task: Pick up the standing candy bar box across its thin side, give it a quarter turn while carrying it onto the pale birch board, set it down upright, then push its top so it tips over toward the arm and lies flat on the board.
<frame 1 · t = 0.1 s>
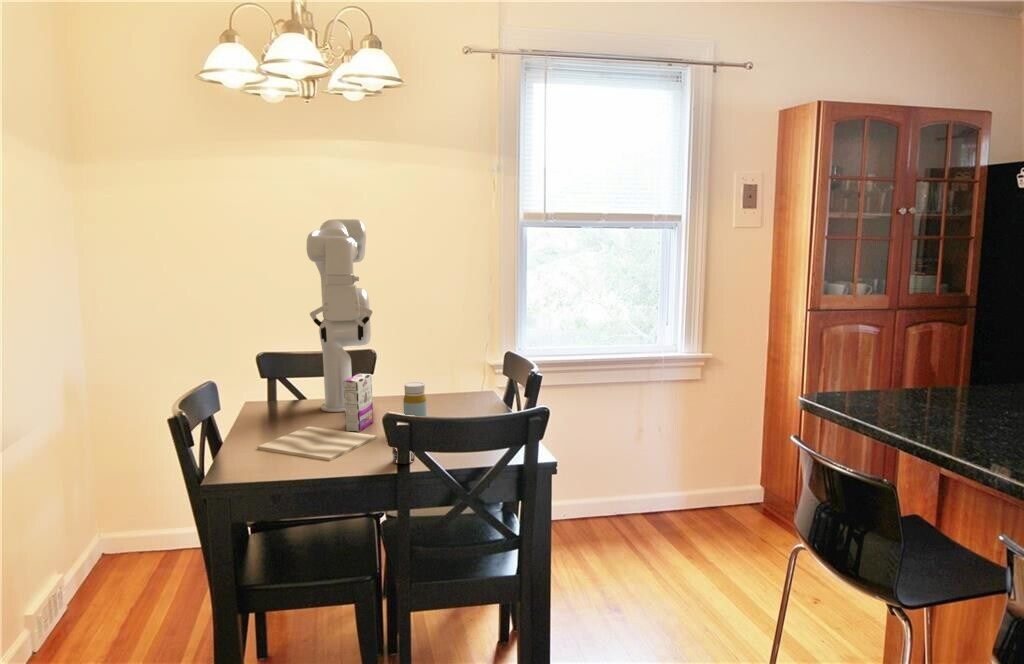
hand: (342, 340, 193), 31 cm above the table, tool pointing down, fingers open, 9 cm apart
supplement bottle: (403, 462, 184), on the table
birch board: (318, 443, 200), on the table
candy bar box: (359, 427, 217), on the table
bottle: (415, 431, 212), on the table
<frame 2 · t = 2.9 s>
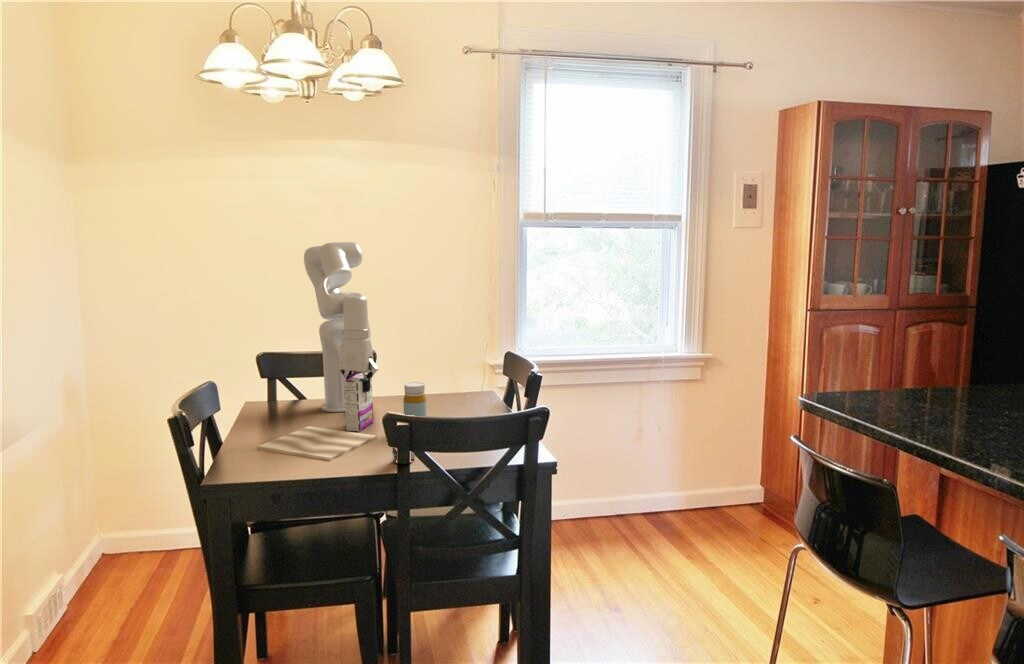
hand: (358, 390, 215), 12 cm above the table, tool pointing down, fingers closed on candy bar box, 5 cm apart
candy bar box: (359, 427, 217), on the table, touching gripper
everything else where it was.
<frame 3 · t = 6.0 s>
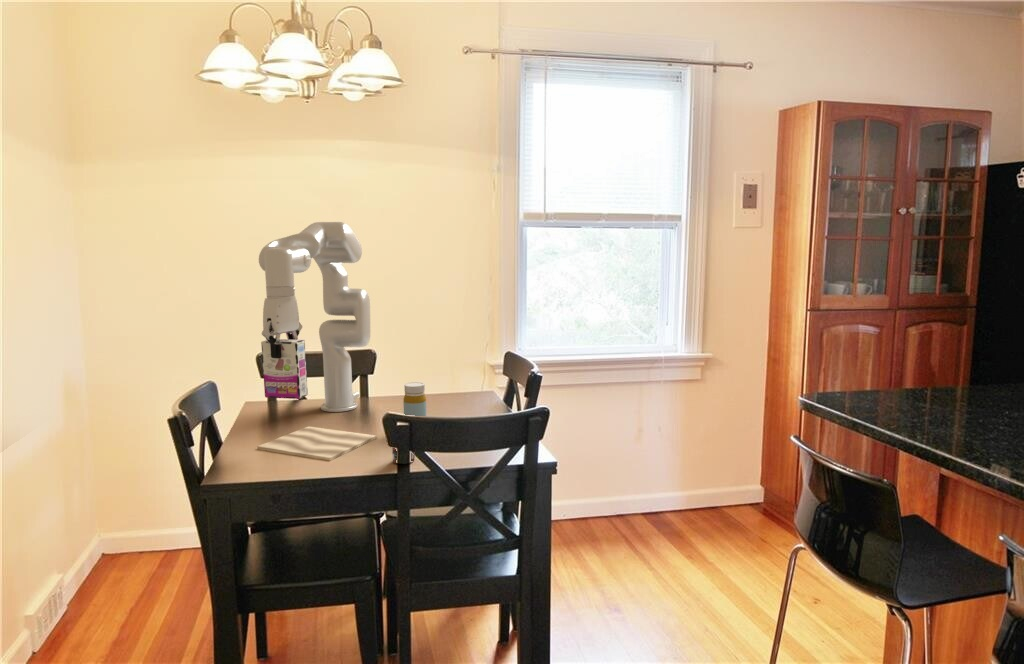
hand: (284, 355, 191), 27 cm above the table, tool pointing down, fingers closed on candy bar box, 5 cm apart
candy bar box: (286, 397, 193), point 15 cm above the table, touching gripper
everything else where it was.
when the fingers open (13 cm above the table, at t = 9.0 s): candy bar box stays where it is, resting on birch board.
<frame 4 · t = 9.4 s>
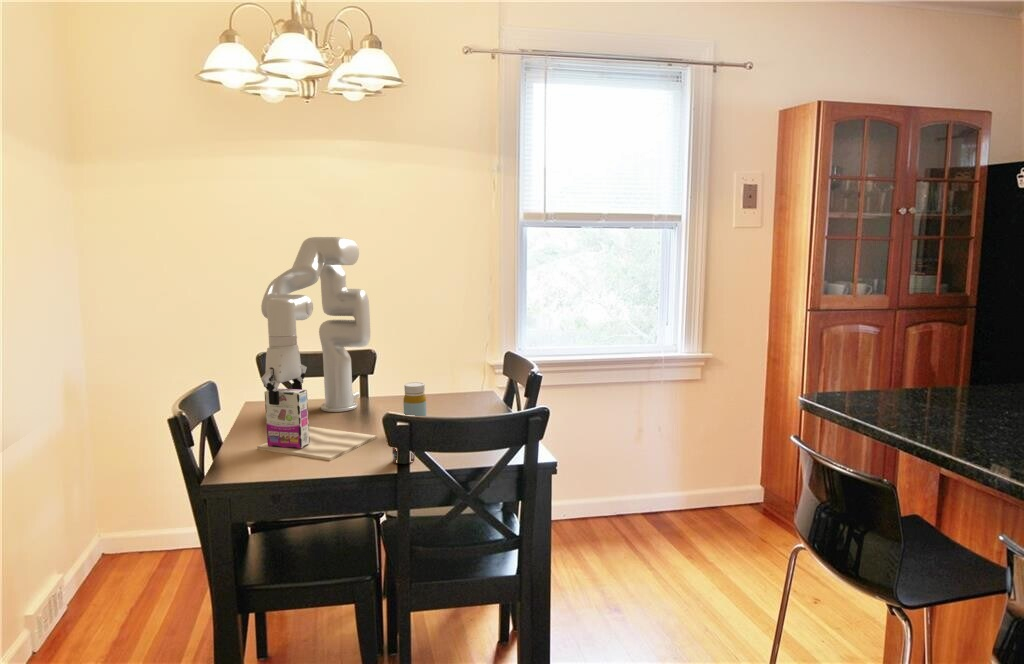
hand: (286, 400, 193), 14 cm above the table, tool pointing down, fingers open, 9 cm apart
candy bar box: (288, 446, 195), point 1 cm above the table, touching birch board
everything else where it was.
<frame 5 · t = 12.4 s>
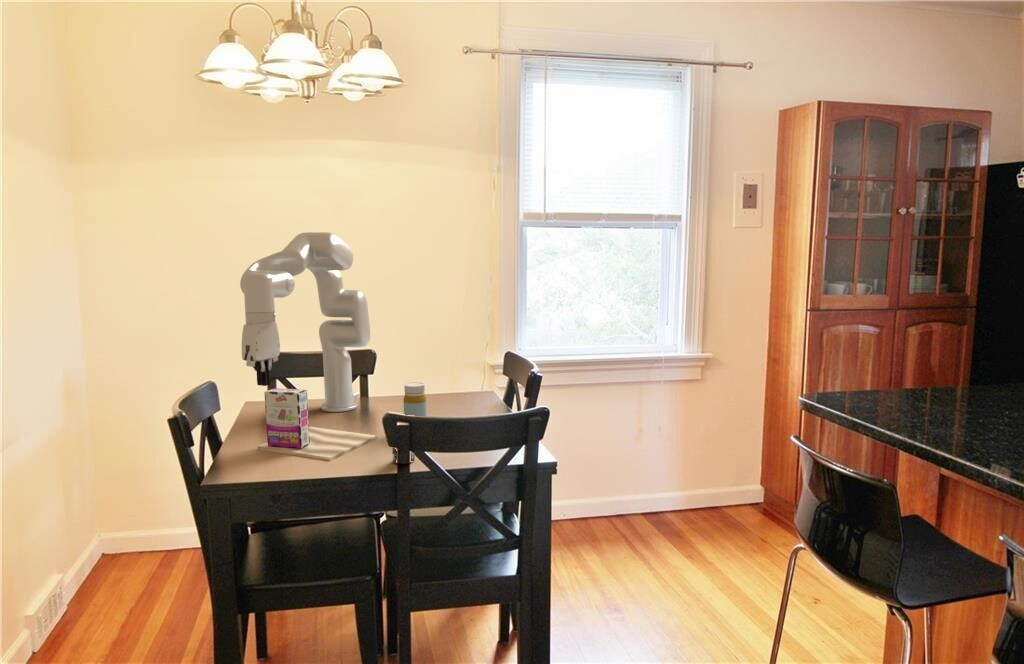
hand: (263, 384, 185), 21 cm above the table, tool pointing down, fingers closed
nothing on the table moved.
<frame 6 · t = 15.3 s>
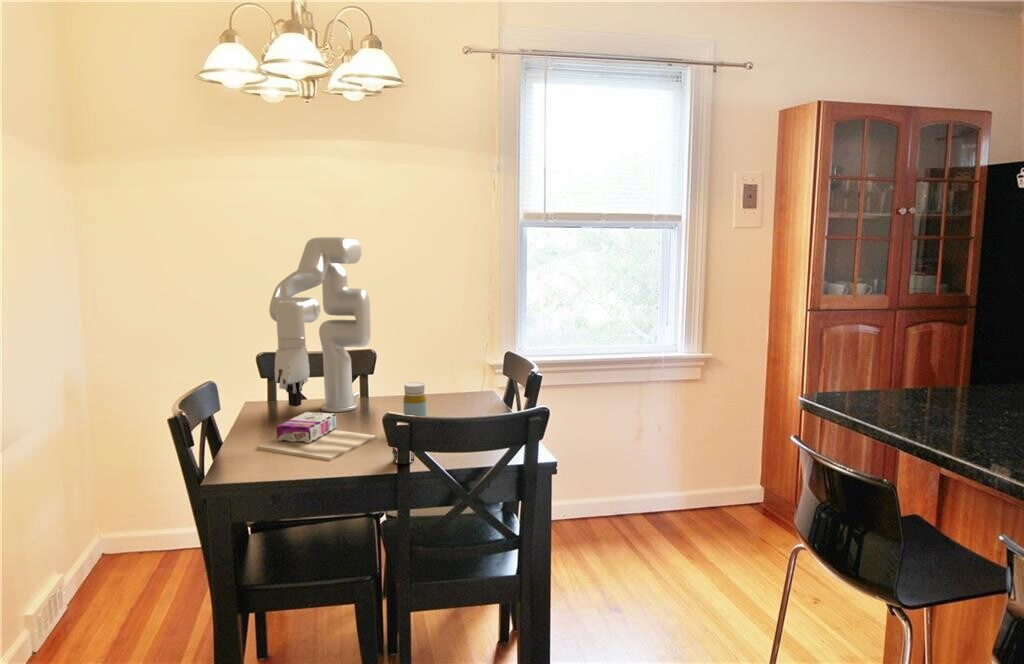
hand: (295, 405, 197), 12 cm above the table, tool pointing down, fingers closed
candy bar box: (292, 435, 197), point 3 cm above the table, touching birch board
everything else where it was.
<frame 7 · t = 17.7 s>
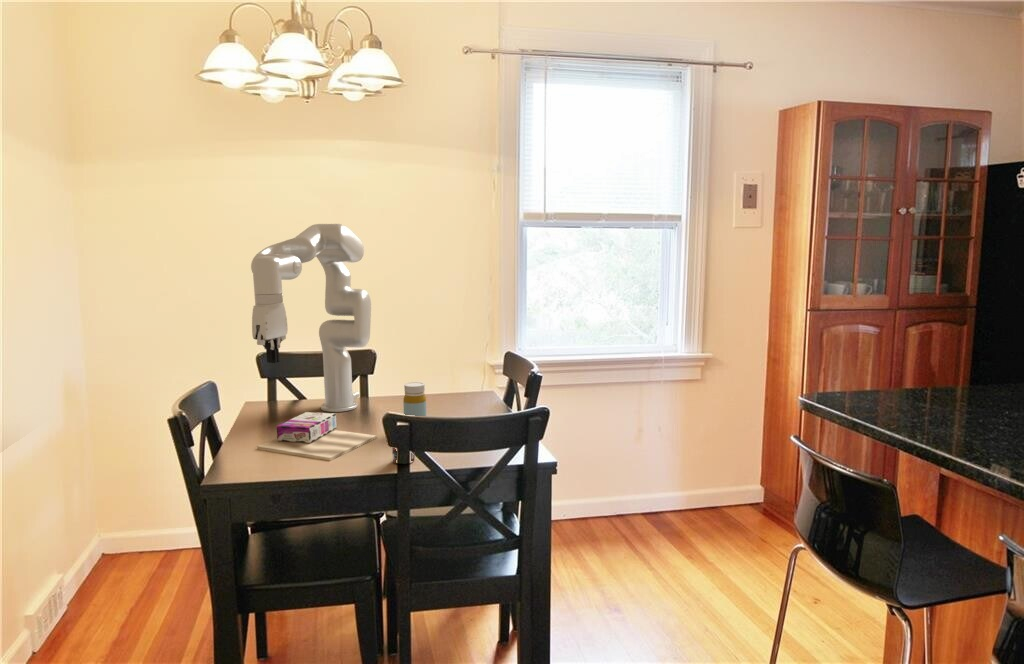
hand: (273, 362, 196), 25 cm above the table, tool pointing down, fingers closed
nothing on the table moved.
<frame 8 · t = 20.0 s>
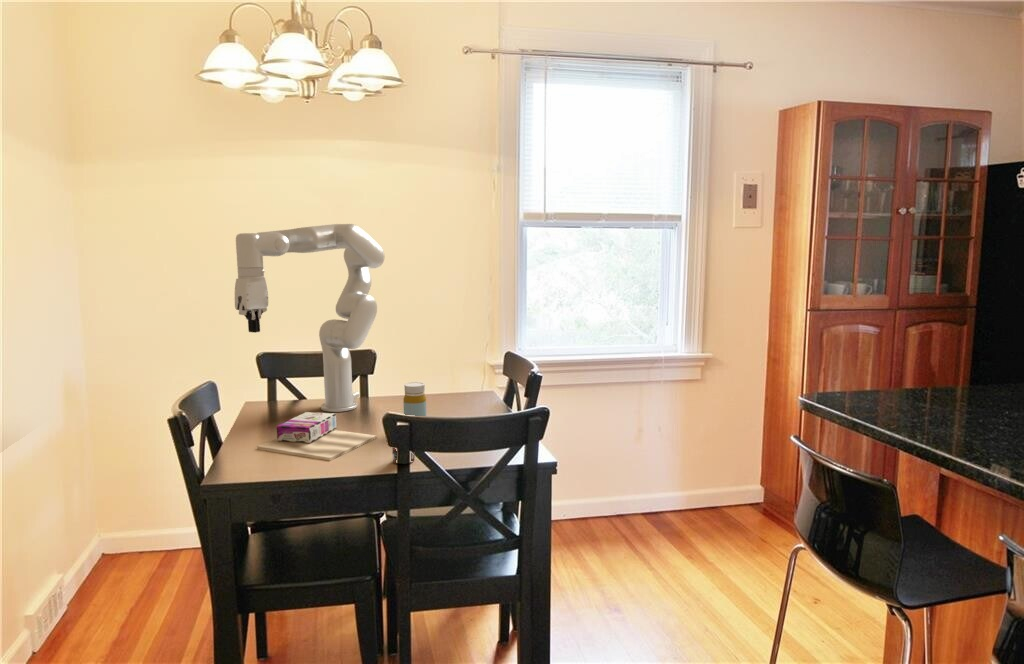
hand: (254, 331, 212), 31 cm above the table, tool pointing down, fingers closed
nothing on the table moved.
at the end: candy bar box tilted 89°; candy bar box inside the target area (7.2 cm from its centre), point 3.2 cm above the table; the gripper is holding nothing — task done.
